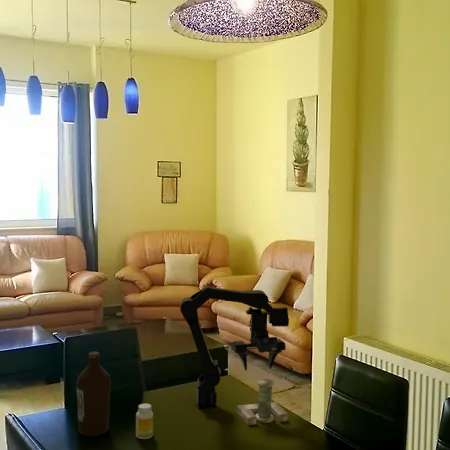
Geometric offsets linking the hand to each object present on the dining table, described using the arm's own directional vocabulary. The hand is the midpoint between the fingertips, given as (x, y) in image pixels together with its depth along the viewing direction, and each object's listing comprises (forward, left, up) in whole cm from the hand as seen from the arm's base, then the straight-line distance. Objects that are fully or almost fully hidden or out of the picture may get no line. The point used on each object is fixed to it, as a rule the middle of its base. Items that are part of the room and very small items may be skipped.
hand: (257, 369), depth 213 cm
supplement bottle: (-43, -16, -13) cm, 48 cm away
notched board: (-2, -10, -13) cm, 17 cm away
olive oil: (-58, -8, -13) cm, 60 cm away
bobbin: (-2, -13, -13) cm, 18 cm away
